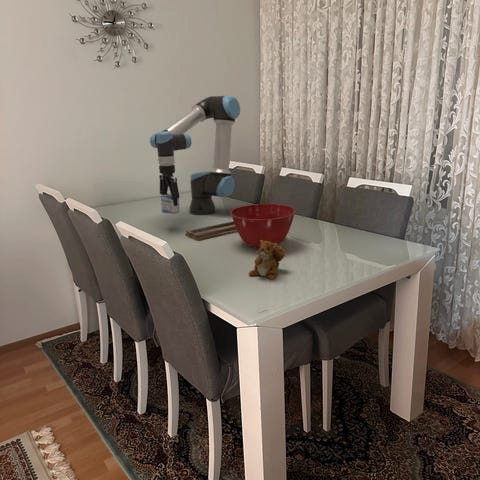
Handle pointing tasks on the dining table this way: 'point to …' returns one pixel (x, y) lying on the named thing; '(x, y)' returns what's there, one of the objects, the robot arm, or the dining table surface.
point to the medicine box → (168, 204)
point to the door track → (212, 231)
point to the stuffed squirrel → (268, 260)
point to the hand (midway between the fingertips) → (170, 210)
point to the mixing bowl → (263, 223)
